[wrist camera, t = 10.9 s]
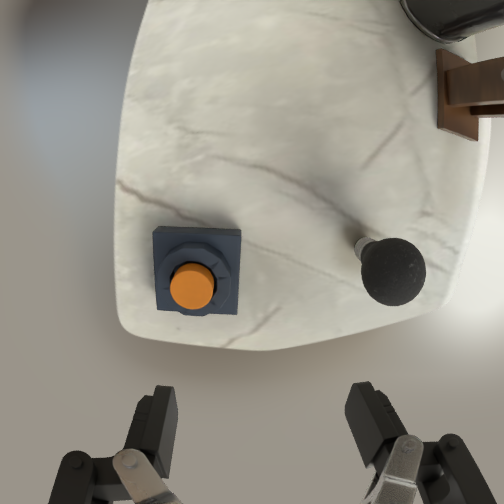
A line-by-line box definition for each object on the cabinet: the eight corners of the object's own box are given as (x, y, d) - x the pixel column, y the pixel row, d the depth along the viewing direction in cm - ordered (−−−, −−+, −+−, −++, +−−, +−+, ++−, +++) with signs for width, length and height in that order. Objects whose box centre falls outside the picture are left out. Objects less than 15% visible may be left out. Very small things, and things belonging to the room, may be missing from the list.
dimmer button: (173, 261, 25) (168, 269, 23) (214, 263, 25) (212, 271, 23) (174, 298, 26) (170, 308, 24) (213, 301, 26) (212, 310, 25)
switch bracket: (471, 141, 26) (552, 149, 13) (437, 128, 25) (524, 129, 13) (470, 67, 22) (544, 54, 10) (435, 50, 22) (511, 24, 10)
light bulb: (335, 223, 28) (380, 257, 19) (385, 216, 28) (442, 246, 19) (337, 275, 30) (376, 326, 21) (384, 266, 30) (433, 310, 21)
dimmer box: (158, 225, 27) (146, 237, 24) (241, 229, 28) (241, 241, 24) (161, 300, 30) (152, 319, 26) (237, 304, 30) (237, 324, 27)
